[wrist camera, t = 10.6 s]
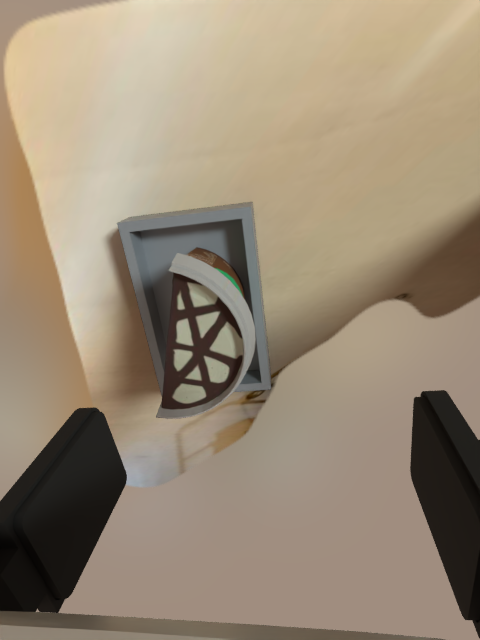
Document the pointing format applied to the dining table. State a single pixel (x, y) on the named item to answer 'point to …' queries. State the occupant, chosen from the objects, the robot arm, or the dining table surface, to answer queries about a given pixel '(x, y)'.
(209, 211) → the tray
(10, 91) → the dining table surface
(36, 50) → the dining table surface
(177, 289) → the food container
